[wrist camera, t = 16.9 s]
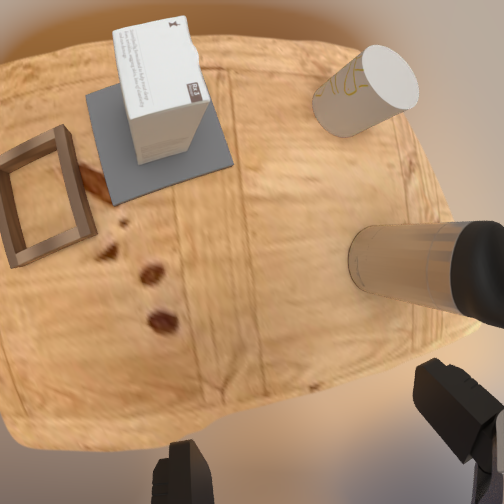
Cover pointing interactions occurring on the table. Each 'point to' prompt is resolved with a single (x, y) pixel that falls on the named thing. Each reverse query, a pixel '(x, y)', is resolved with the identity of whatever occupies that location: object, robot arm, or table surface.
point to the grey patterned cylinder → (366, 92)
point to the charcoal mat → (158, 171)
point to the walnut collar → (59, 138)
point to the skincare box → (160, 86)
